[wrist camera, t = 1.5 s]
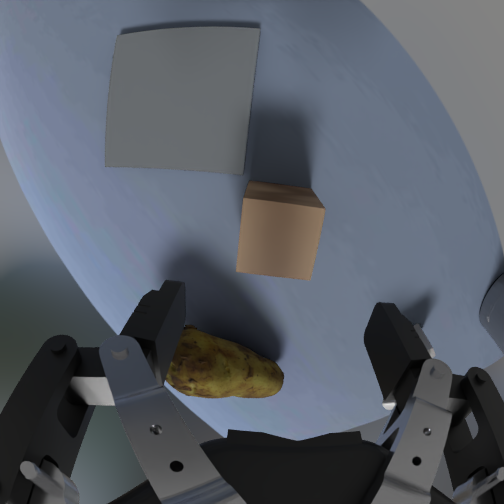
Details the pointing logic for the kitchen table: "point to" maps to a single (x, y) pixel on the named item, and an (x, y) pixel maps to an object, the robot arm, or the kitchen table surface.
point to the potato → (220, 368)
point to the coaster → (181, 99)
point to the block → (279, 230)
